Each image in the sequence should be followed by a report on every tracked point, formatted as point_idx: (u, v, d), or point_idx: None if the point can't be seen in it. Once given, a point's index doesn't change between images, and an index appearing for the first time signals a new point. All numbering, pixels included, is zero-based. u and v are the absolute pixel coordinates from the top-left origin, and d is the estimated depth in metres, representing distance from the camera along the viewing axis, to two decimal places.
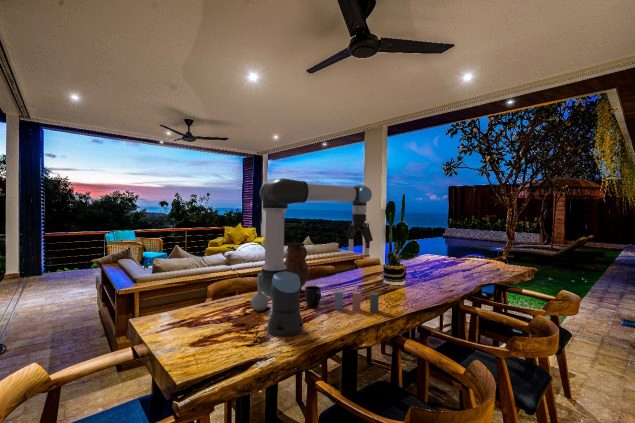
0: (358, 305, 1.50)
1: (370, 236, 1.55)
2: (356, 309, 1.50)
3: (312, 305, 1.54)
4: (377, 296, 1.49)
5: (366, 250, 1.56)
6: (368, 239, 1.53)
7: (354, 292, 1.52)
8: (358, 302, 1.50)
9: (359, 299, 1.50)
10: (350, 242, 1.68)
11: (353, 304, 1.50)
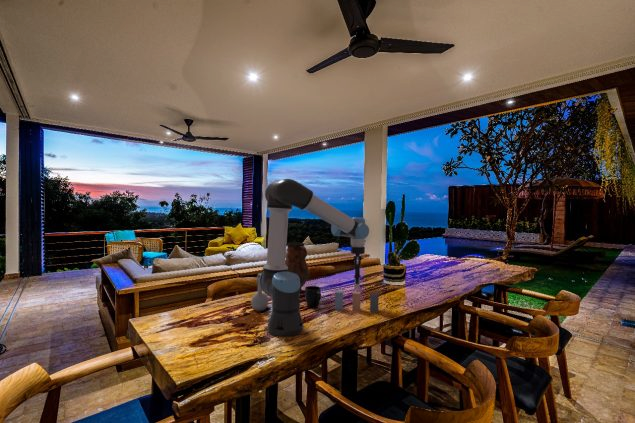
0: (358, 305, 1.50)
1: (357, 273, 1.57)
2: (356, 309, 1.50)
3: (312, 305, 1.54)
4: (377, 296, 1.49)
5: (356, 285, 1.60)
6: (354, 276, 1.58)
7: (354, 292, 1.52)
8: (358, 302, 1.50)
9: (359, 299, 1.50)
10: None
11: (353, 304, 1.50)
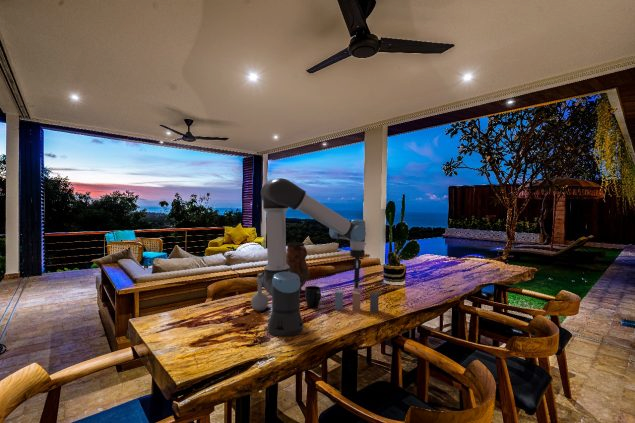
0: (358, 305, 1.50)
1: (357, 278, 1.52)
2: (356, 309, 1.50)
3: (312, 305, 1.54)
4: (377, 296, 1.49)
5: (355, 290, 1.55)
6: (354, 280, 1.53)
7: (354, 292, 1.52)
8: (358, 302, 1.50)
9: (359, 299, 1.50)
10: None
11: (353, 304, 1.50)
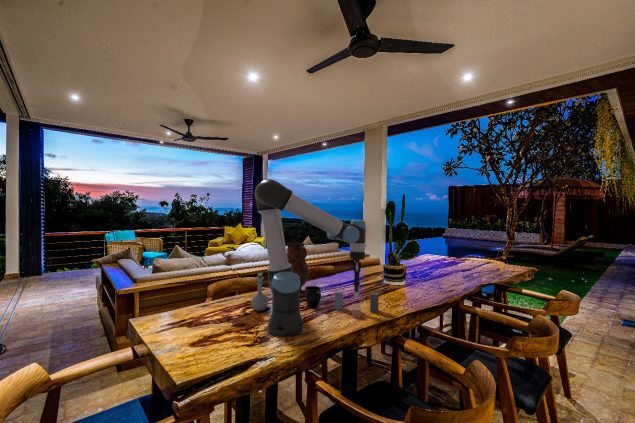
0: None
1: (357, 281, 1.45)
2: None
3: (312, 305, 1.54)
4: (377, 296, 1.49)
5: (355, 294, 1.48)
6: (354, 283, 1.46)
7: (354, 314, 1.41)
8: None
9: None
10: None
11: None
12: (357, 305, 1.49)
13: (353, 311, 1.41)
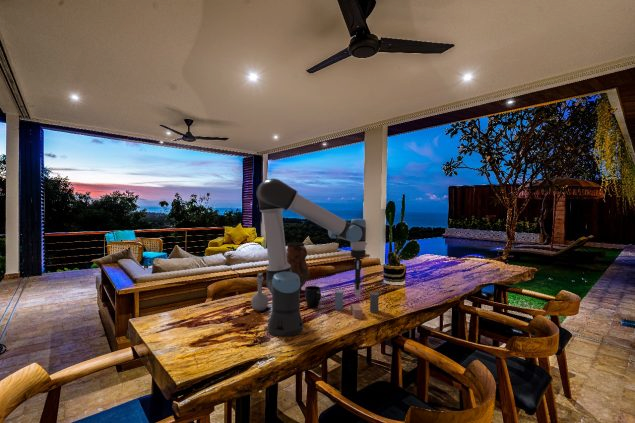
0: None
1: (358, 279, 1.47)
2: None
3: (312, 305, 1.54)
4: (377, 296, 1.49)
5: (356, 291, 1.51)
6: (355, 281, 1.48)
7: (356, 314, 1.41)
8: None
9: None
10: None
11: None
12: (356, 304, 1.49)
13: (355, 311, 1.41)
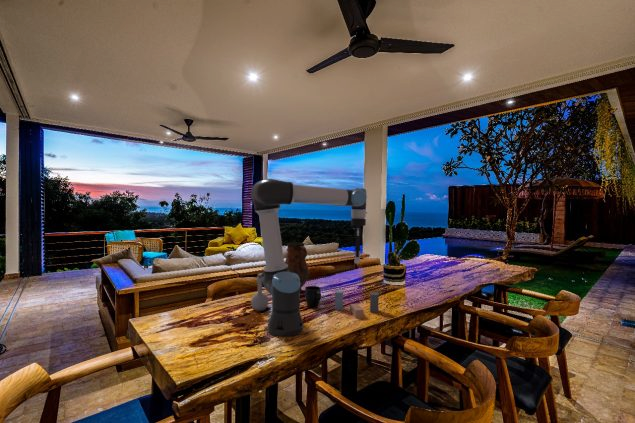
0: None
1: (358, 246, 1.51)
2: None
3: (312, 305, 1.54)
4: (377, 296, 1.49)
5: (356, 259, 1.54)
6: (355, 248, 1.51)
7: (357, 314, 1.41)
8: None
9: None
10: None
11: None
12: (355, 304, 1.49)
13: (356, 311, 1.41)
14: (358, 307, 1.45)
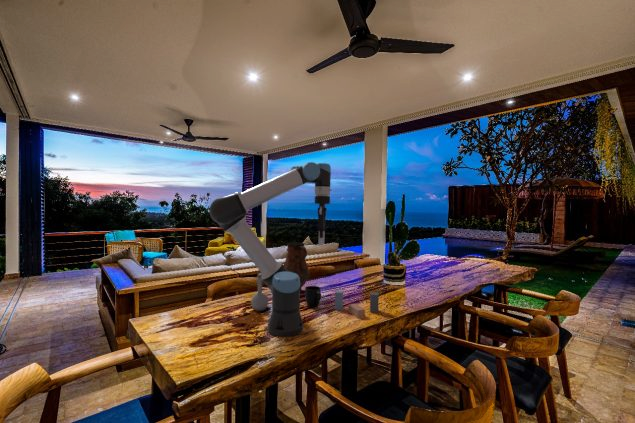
0: None
1: (321, 225, 1.40)
2: None
3: (312, 305, 1.54)
4: (377, 296, 1.49)
5: (320, 240, 1.43)
6: (318, 228, 1.41)
7: (359, 314, 1.41)
8: None
9: None
10: None
11: None
12: (354, 304, 1.49)
13: (358, 311, 1.41)
14: (358, 307, 1.45)
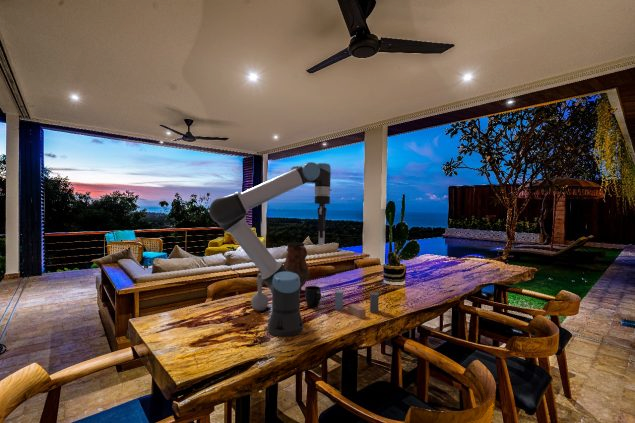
0: None
1: (321, 225, 1.40)
2: None
3: (312, 305, 1.54)
4: (377, 296, 1.49)
5: (320, 240, 1.43)
6: (318, 228, 1.41)
7: (360, 314, 1.42)
8: None
9: None
10: None
11: None
12: (354, 304, 1.49)
13: (359, 311, 1.41)
14: (358, 307, 1.45)
